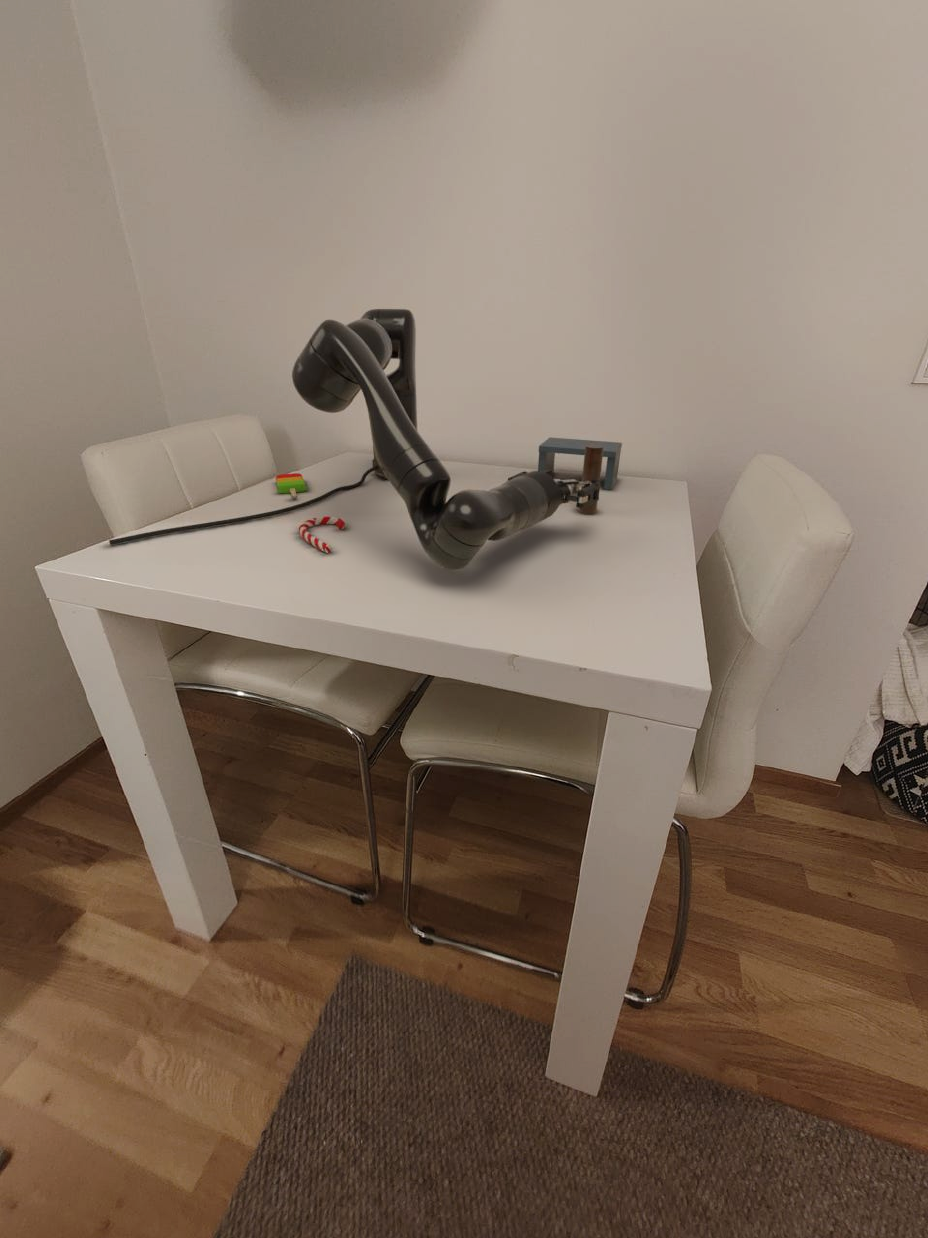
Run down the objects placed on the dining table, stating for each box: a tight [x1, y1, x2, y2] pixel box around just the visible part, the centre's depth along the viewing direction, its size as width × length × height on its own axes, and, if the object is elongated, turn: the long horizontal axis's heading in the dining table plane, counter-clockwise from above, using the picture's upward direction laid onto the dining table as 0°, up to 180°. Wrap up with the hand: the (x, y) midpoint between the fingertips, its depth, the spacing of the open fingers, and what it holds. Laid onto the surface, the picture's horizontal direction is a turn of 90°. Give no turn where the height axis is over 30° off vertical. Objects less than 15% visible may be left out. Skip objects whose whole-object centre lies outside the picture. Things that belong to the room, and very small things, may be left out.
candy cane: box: [298, 516, 346, 554], centre depth 93 cm, size 8×1×15 cm
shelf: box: [537, 437, 623, 491], centre depth 124 cm, size 10×16×8 cm, turn 69°
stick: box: [578, 444, 604, 516], centre depth 103 cm, size 3×3×12 cm
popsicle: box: [275, 472, 307, 498], centre depth 117 cm, size 6×15×2 cm, turn 19°
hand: (572, 479), depth 97 cm, fingers open, 8 cm apart
